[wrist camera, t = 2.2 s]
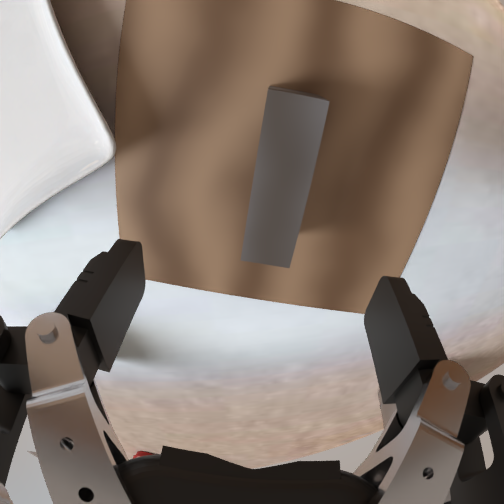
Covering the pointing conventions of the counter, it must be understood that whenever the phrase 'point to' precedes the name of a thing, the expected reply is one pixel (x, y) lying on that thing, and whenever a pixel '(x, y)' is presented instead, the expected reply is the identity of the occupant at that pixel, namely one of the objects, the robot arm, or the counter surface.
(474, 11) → the counter surface
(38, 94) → the salad plate
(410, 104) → the cover board
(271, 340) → the counter surface
